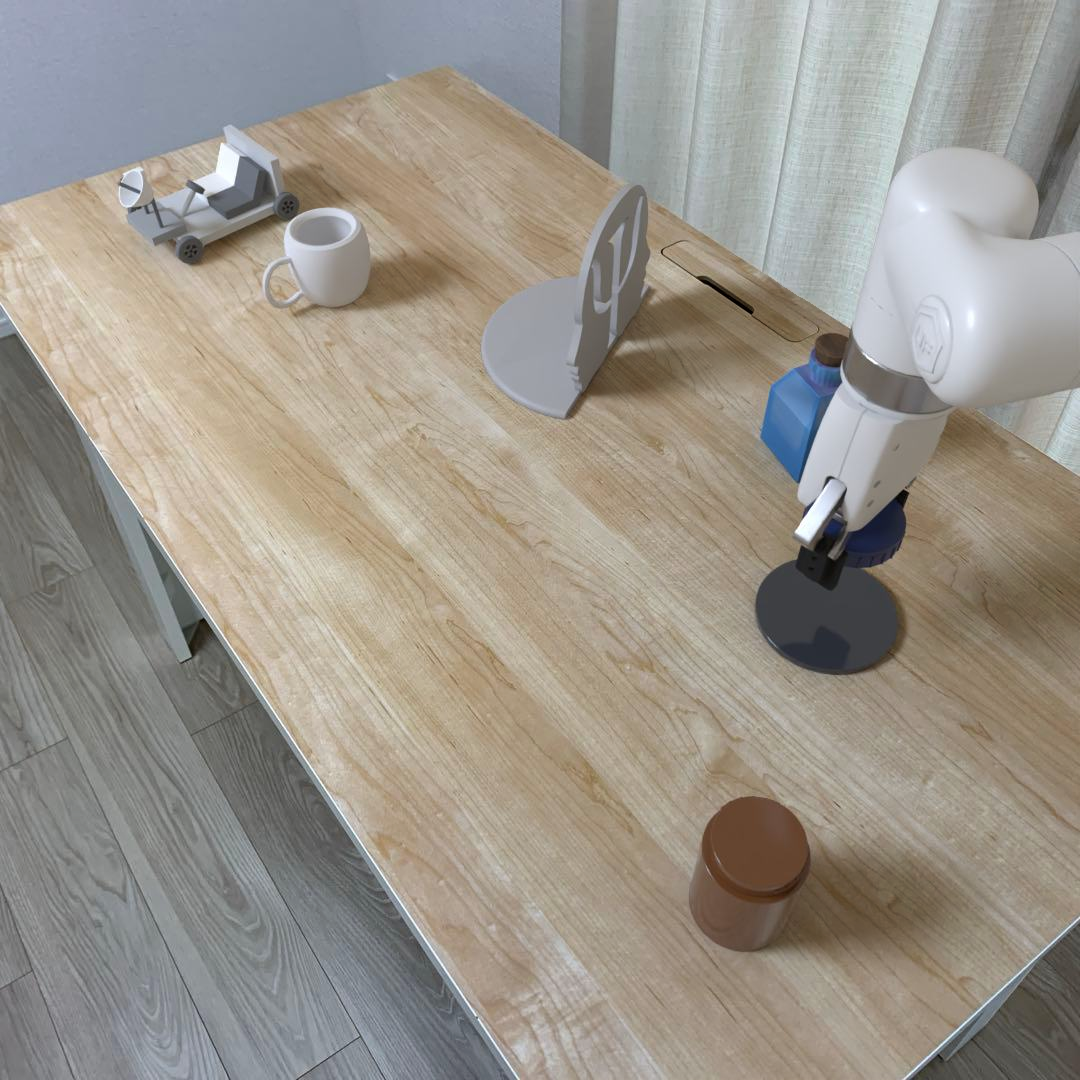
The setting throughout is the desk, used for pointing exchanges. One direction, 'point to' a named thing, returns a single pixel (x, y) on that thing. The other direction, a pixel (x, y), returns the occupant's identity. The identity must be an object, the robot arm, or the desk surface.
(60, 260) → the desk surface
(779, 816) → the jar
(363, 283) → the mug
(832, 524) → the lid
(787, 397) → the perfume bottle
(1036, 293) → the robot arm
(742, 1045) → the desk surface
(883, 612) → the coaster
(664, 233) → the desk surface
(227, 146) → the toy car
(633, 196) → the ornament
